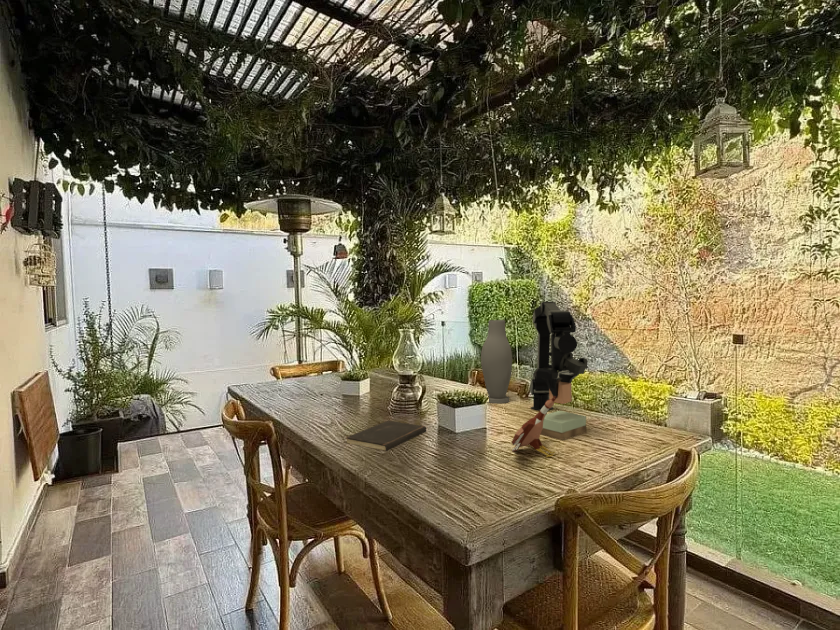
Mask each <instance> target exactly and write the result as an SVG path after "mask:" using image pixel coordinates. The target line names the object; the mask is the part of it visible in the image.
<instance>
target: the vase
mask: <svg viewBox="0 0 840 630" xmlns="http://www.w3.org/2000/svg"><path fill="white" fill-rule="evenodd" d="M487 329H488V331H487V337H486V339H485V341H484V343H483V345H482V348H481V353H480V365H481V369H482V370H481V371H482V375H483V381H484V384H485V389H486V392H487V396H488V397H489V402H490V403H489V404H505V403H509V402H510V397H509V396H507V393H508V390H509V385H510V381H511V379H512V370H513V353H512V348H511V345H510V344H511V343H509V340H508V337H507V333H506V320H505V319H492V320H491V319H489V320H488V328H487Z"/></svg>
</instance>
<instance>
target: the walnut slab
mask: <svg viewBox="0 0 840 630" xmlns="http://www.w3.org/2000/svg"><path fill="white" fill-rule="evenodd" d="M586 433H587V424H586V425H585V426H582V427H579V428H576V429H573V430H569V431H566V432H563V433H560V432H556V431H553V430H549V429H545V428H543V429H542V431H541V434H540V436H543V437H547V438H552V439H556V440H560V441H565V440H568V439H571V438H574V437H577V436H579V435H583V434H586Z"/></svg>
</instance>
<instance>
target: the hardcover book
mask: <svg viewBox="0 0 840 630" xmlns="http://www.w3.org/2000/svg"><path fill="white" fill-rule="evenodd" d="M426 432H427V427H426V426H425V425H419V424H413V423H407V422H401V421H393V420H387V421H384V422H382V423H378V424H376V425H373V426H371V427H369V428H367V429H364V430H361V431H359V432H356V433H353V434H351V435H349V436H346V437H344V438H345V440H346V444H351V445H354V446H361V447H366V448H371V449H375V450H380V451H385V452H387V451H389V450H391V449H394V448H395V447H397V446H399V445H401V444H404V443H406V442H408V441H409V440H412V439H414V438H416V437H418V436H419V435H420V436H421V435H422V434H424V433H426Z"/></svg>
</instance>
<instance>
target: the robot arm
mask: <svg viewBox="0 0 840 630" xmlns="http://www.w3.org/2000/svg"><path fill="white" fill-rule="evenodd" d="M532 323H533V326H534V328H535V329H536V332H537V360H536V361H537V366H536V367H537V368H536V369H535V371H534V372H533V373H532V379H531V380H530V386H529V392H530V394H531V395H533V399H532V400H533V405H532V406H530V409H531V410H536V411H540V410H541V409H542V407H543V406H544V405H545V403H546V402H547V401H548V400H549V389H550V391H551V393H552V395H553V397H554V396H556V397H558V386H559V382H566V383H571V384H572V381H574V379H575V378H576V377H578V376H579V375H583V374H585V370H587V369H588V368H589V366H588V365H589V362H588V359H587V358H586V357H580V358H574V357H573V356H574V354H573V352H575V350H576V349H577V347H578V341H577V338H576V337H574V335H571V334H572V333H576V329H577V326H576V321H575V319H574V317H573V314H571V312H570V311H569V310H562V309H561V308H559V306H557V303H556V301H554V300H553V301H541V302H540V305H539V306H537V307H536V308H535V309H534V311H533V313H532ZM556 397H555V398H556ZM553 409H554V407H553V406H552V407H551V408H550V409H549V410H553ZM549 410H548V411H549Z"/></svg>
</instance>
